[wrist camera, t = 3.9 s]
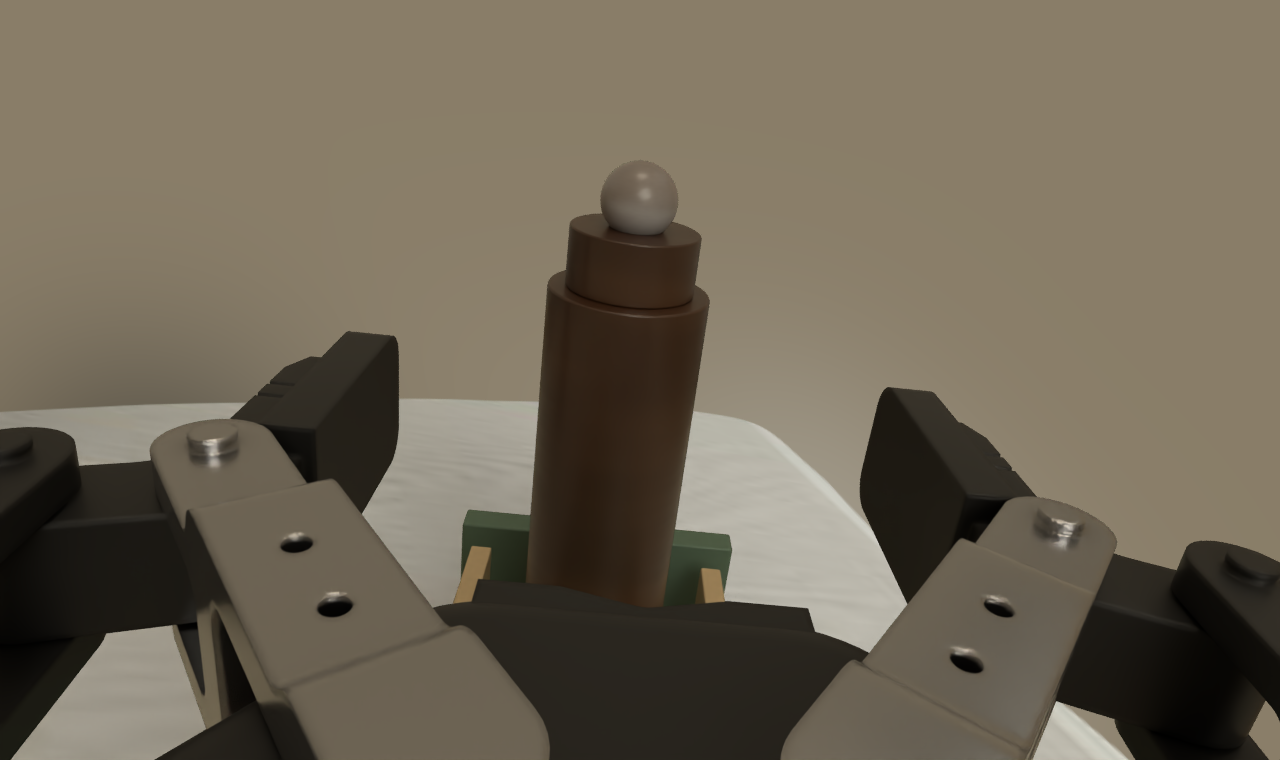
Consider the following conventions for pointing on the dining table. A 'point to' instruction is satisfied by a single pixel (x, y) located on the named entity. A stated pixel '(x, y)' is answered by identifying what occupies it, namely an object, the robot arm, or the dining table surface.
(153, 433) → the dining table surface
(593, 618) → the robot arm
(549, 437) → the pepper mill
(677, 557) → the drawer
